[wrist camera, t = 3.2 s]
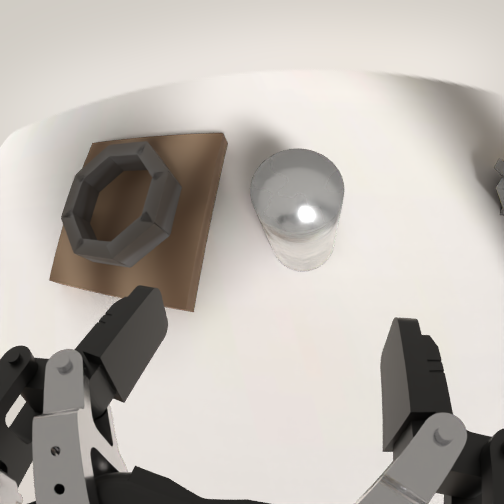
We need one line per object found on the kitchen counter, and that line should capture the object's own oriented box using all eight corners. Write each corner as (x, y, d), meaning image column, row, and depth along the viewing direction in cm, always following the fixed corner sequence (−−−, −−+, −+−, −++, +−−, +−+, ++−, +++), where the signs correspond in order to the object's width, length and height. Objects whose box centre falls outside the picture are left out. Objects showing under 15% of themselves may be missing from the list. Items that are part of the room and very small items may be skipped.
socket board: (227, 143, 25) (214, 113, 22) (193, 312, 22) (169, 305, 18) (100, 150, 28) (78, 129, 25) (60, 283, 25) (29, 273, 21)
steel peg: (336, 214, 22) (345, 152, 14) (331, 274, 21) (341, 236, 13) (276, 209, 23) (257, 147, 15) (267, 267, 22) (243, 227, 14)
